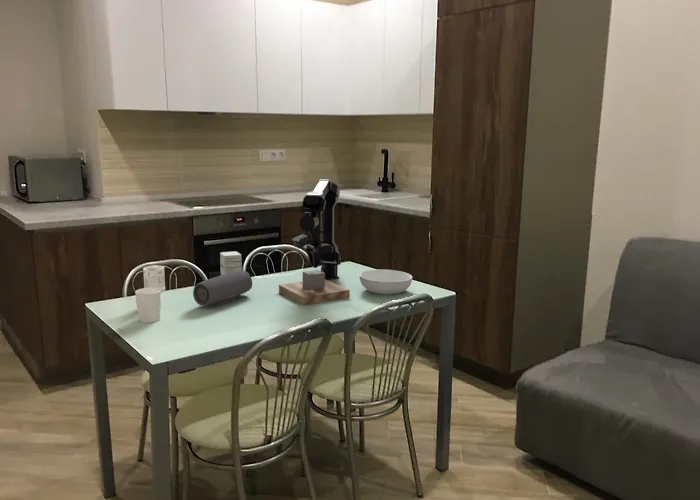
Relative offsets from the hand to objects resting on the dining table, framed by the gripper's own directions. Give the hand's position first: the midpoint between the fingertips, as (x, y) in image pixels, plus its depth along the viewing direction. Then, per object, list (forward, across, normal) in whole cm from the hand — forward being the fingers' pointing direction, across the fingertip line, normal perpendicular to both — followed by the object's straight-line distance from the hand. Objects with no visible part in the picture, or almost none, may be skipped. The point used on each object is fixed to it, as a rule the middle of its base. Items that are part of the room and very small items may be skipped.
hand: (313, 267), depth 226 cm
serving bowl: (+11, +10, +27) cm, 31 cm away
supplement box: (+11, -32, -21) cm, 40 cm away
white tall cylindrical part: (+11, -16, -56) cm, 59 cm away
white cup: (+11, -1, -62) cm, 63 cm away
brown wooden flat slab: (+11, 0, 0) cm, 11 cm away
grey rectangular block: (+10, 0, 0) cm, 11 cm away
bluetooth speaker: (+11, -9, -33) cm, 36 cm away
